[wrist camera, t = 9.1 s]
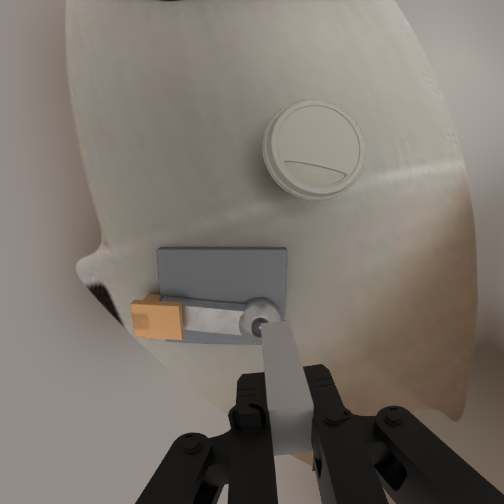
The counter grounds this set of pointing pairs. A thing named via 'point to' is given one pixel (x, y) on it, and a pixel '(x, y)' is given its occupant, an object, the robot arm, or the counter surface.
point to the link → (228, 316)
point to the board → (222, 280)
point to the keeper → (157, 318)
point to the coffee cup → (313, 150)
